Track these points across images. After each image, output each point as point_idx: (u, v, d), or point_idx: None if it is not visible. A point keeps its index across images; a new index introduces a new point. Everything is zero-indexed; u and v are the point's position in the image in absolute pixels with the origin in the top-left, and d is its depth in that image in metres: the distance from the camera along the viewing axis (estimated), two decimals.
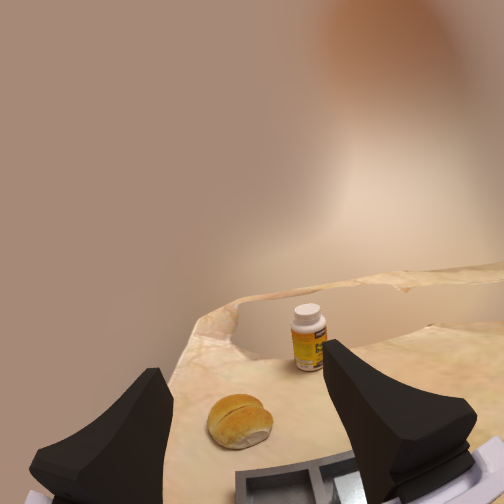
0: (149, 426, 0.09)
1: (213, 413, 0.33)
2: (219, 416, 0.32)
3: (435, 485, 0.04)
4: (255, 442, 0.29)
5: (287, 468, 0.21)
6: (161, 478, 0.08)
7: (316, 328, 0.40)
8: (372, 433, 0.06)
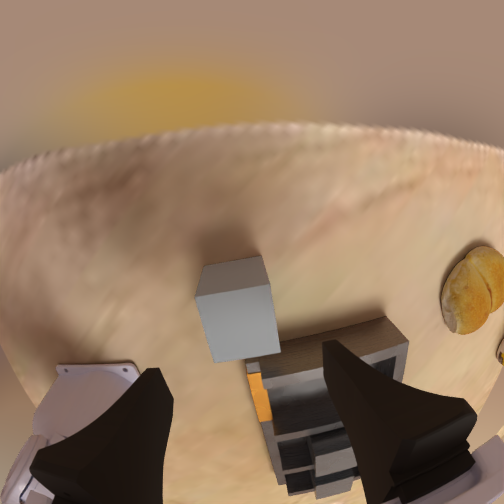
0: (149, 426, 0.09)
1: (494, 265, 0.18)
2: (488, 276, 0.18)
3: (435, 485, 0.04)
4: (445, 315, 0.22)
5: None
6: (161, 478, 0.08)
7: None
8: (372, 433, 0.06)
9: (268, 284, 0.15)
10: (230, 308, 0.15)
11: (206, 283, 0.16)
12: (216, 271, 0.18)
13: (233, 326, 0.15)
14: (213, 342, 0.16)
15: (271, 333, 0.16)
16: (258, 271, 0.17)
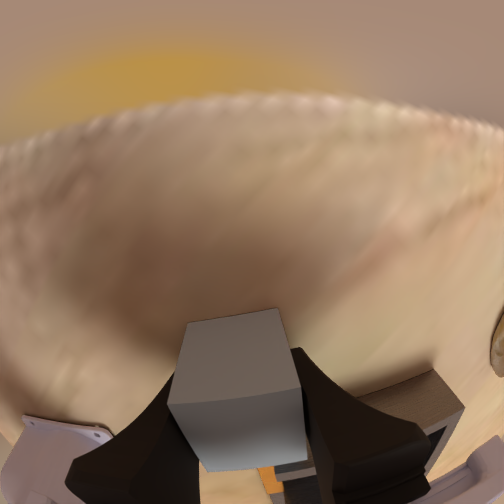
0: None
1: None
2: None
3: None
4: (493, 358, 0.14)
5: (436, 454, 0.12)
6: (198, 479, 0.08)
7: None
8: (320, 448, 0.06)
9: (297, 387, 0.07)
10: (230, 419, 0.08)
11: (188, 369, 0.09)
12: (205, 339, 0.11)
13: (235, 440, 0.08)
14: (204, 454, 0.08)
15: (296, 443, 0.08)
16: (276, 349, 0.09)
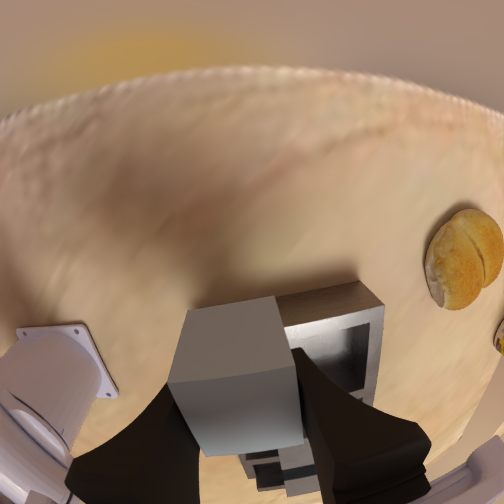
0: (186, 425, 0.09)
1: (484, 227, 0.17)
2: (478, 240, 0.17)
3: None
4: (430, 286, 0.20)
5: (373, 368, 0.17)
6: (197, 479, 0.08)
7: None
8: (320, 448, 0.06)
9: (292, 365, 0.08)
10: (227, 399, 0.08)
11: (187, 352, 0.10)
12: (204, 324, 0.11)
13: (233, 421, 0.09)
14: (202, 437, 0.09)
15: (292, 425, 0.09)
16: (272, 331, 0.10)
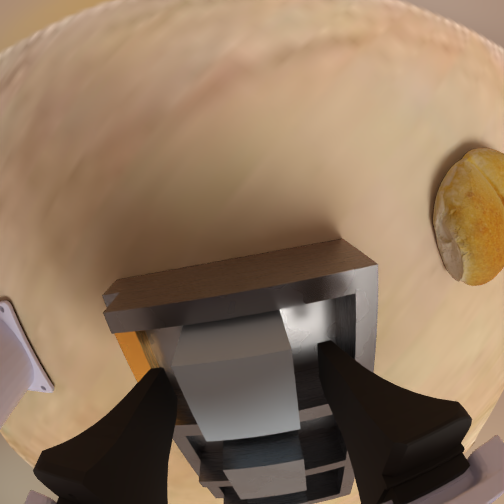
0: (154, 426, 0.09)
1: None
2: (502, 184, 0.11)
3: (428, 488, 0.04)
4: (442, 252, 0.14)
5: (365, 367, 0.12)
6: (166, 478, 0.08)
7: None
8: (365, 435, 0.06)
9: (288, 349, 0.09)
10: (228, 382, 0.09)
11: (191, 338, 0.10)
12: None
13: (233, 404, 0.09)
14: (204, 420, 0.10)
15: (289, 410, 0.10)
16: (270, 319, 0.11)
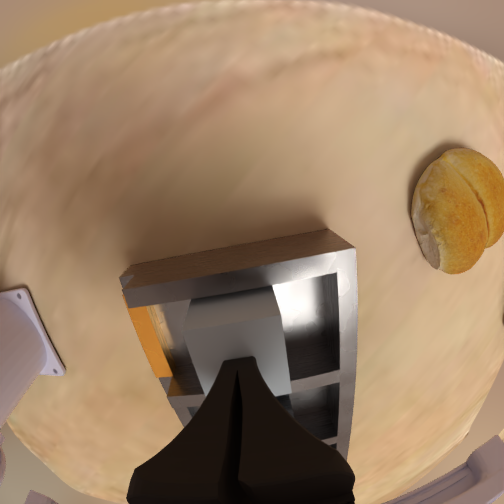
0: (240, 421, 0.09)
1: (480, 166, 0.13)
2: (475, 181, 0.13)
3: None
4: (421, 243, 0.16)
5: (349, 340, 0.14)
6: None
7: None
8: None
9: (278, 315, 0.11)
10: (228, 344, 0.11)
11: (197, 309, 0.12)
12: None
13: None
14: (207, 383, 0.12)
15: (280, 373, 0.12)
16: (264, 294, 0.13)
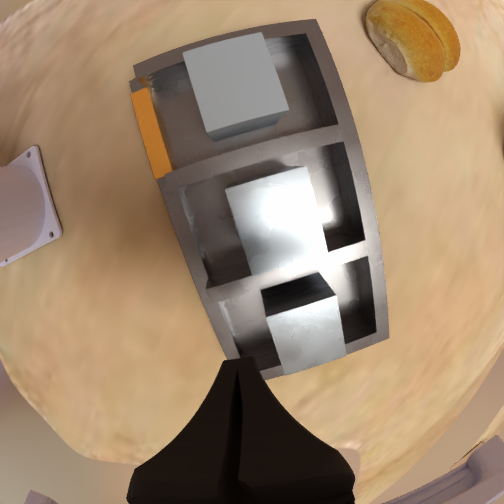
0: (240, 421, 0.09)
1: None
2: (412, 6, 0.12)
3: None
4: (386, 56, 0.16)
5: (337, 91, 0.14)
6: None
7: None
8: None
9: (260, 33, 0.11)
10: (221, 57, 0.11)
11: None
12: None
13: (227, 78, 0.12)
14: (204, 101, 0.12)
15: (272, 84, 0.12)
16: None
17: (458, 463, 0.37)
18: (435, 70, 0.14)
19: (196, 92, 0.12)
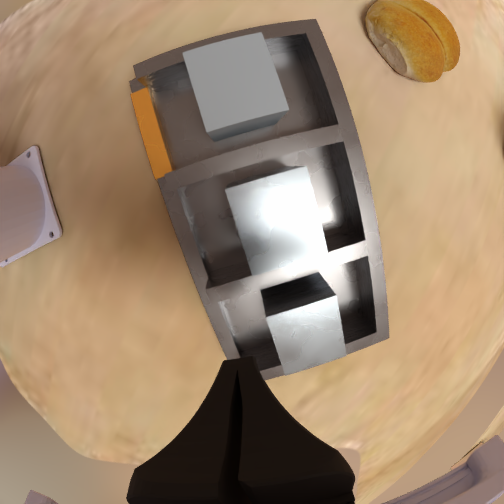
0: (240, 421, 0.09)
1: None
2: (412, 6, 0.12)
3: None
4: (385, 56, 0.16)
5: (337, 91, 0.14)
6: None
7: None
8: None
9: (260, 33, 0.11)
10: (221, 57, 0.11)
11: None
12: None
13: (227, 78, 0.12)
14: (204, 101, 0.12)
15: (272, 84, 0.12)
16: None
17: (458, 463, 0.37)
18: (435, 70, 0.14)
19: (196, 92, 0.12)
